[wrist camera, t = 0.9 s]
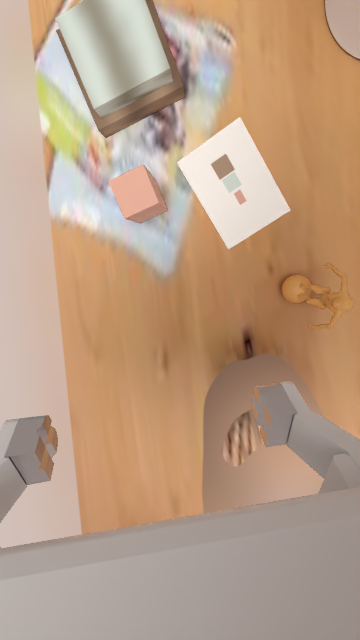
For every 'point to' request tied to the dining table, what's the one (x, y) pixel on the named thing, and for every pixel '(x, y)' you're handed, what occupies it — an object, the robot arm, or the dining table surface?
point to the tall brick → (138, 195)
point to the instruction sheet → (233, 184)
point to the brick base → (120, 60)
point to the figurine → (300, 290)
